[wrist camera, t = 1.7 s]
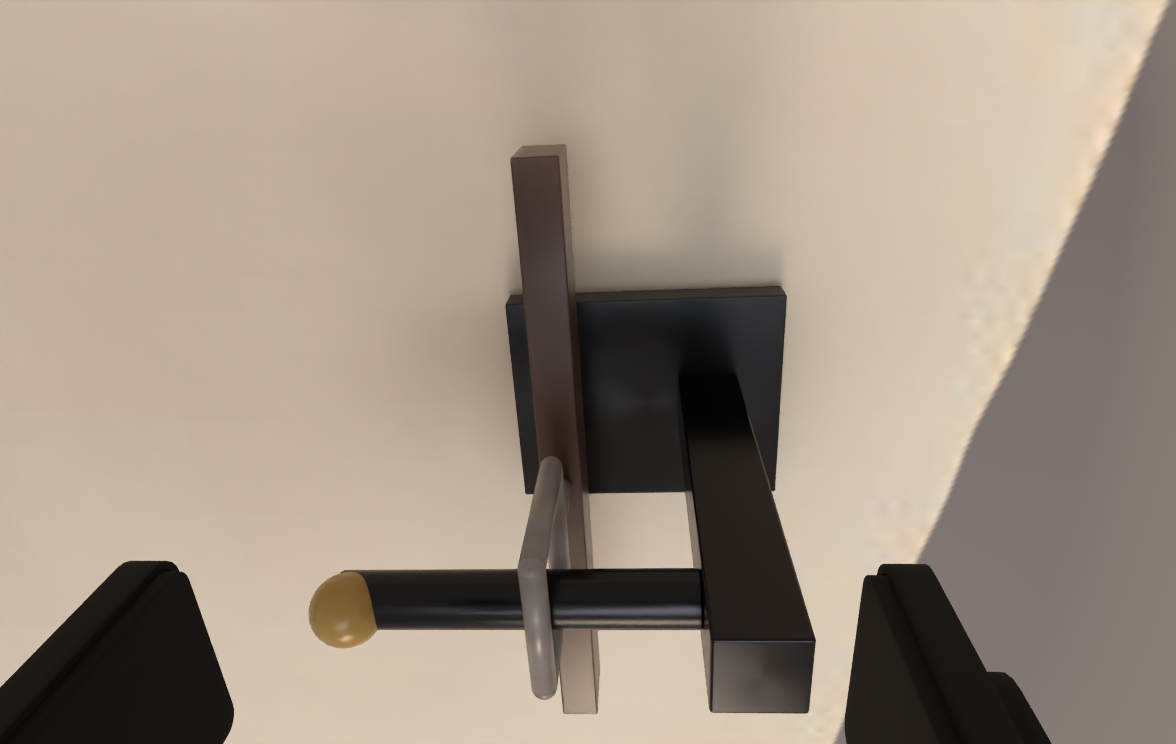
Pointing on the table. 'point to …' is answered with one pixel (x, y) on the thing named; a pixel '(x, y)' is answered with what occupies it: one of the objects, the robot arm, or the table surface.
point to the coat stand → (647, 465)
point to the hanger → (553, 428)
